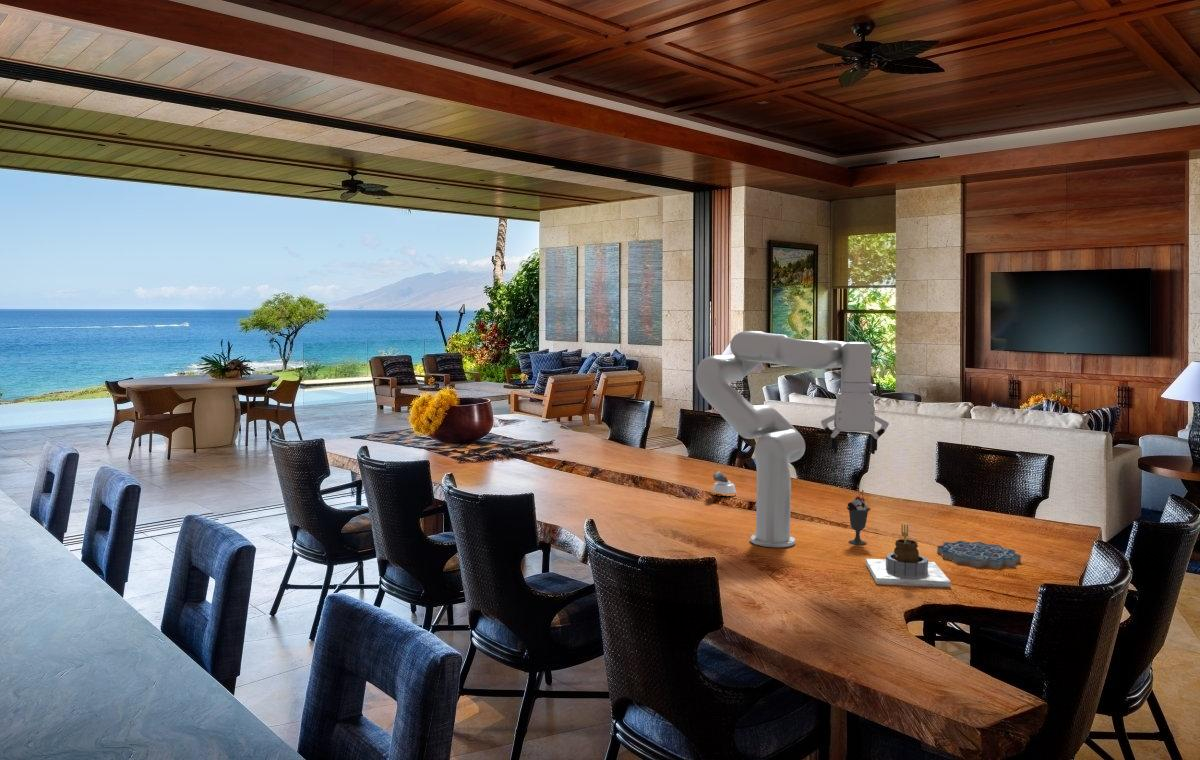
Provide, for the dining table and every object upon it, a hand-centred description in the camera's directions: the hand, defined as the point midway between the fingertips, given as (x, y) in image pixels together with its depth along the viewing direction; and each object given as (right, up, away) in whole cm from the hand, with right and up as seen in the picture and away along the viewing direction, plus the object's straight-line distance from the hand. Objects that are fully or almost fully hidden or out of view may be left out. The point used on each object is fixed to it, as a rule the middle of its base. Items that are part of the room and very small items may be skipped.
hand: (853, 452), depth 226 cm
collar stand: (+9, -29, -14) cm, 34 cm away
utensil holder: (+9, -28, -14) cm, 33 cm away
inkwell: (-24, -23, +79) cm, 86 cm away
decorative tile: (+34, -29, +3) cm, 45 cm away
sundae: (+6, -27, +17) cm, 33 cm away
